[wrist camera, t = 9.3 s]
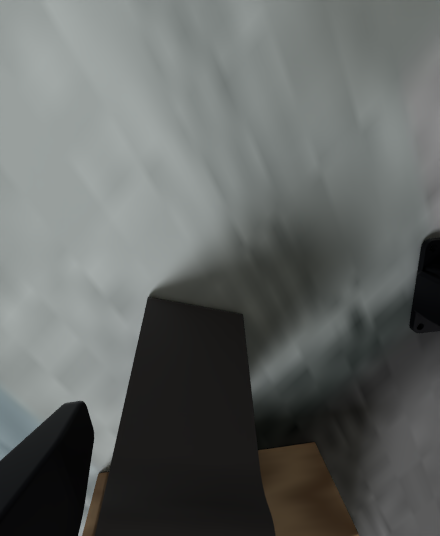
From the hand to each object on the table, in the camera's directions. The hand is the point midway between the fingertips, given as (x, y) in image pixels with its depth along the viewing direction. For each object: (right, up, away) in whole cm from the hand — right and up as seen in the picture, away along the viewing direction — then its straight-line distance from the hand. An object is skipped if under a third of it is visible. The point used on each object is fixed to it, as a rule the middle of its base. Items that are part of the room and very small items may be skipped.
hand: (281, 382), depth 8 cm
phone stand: (-4, -4, +14) cm, 15 cm away
